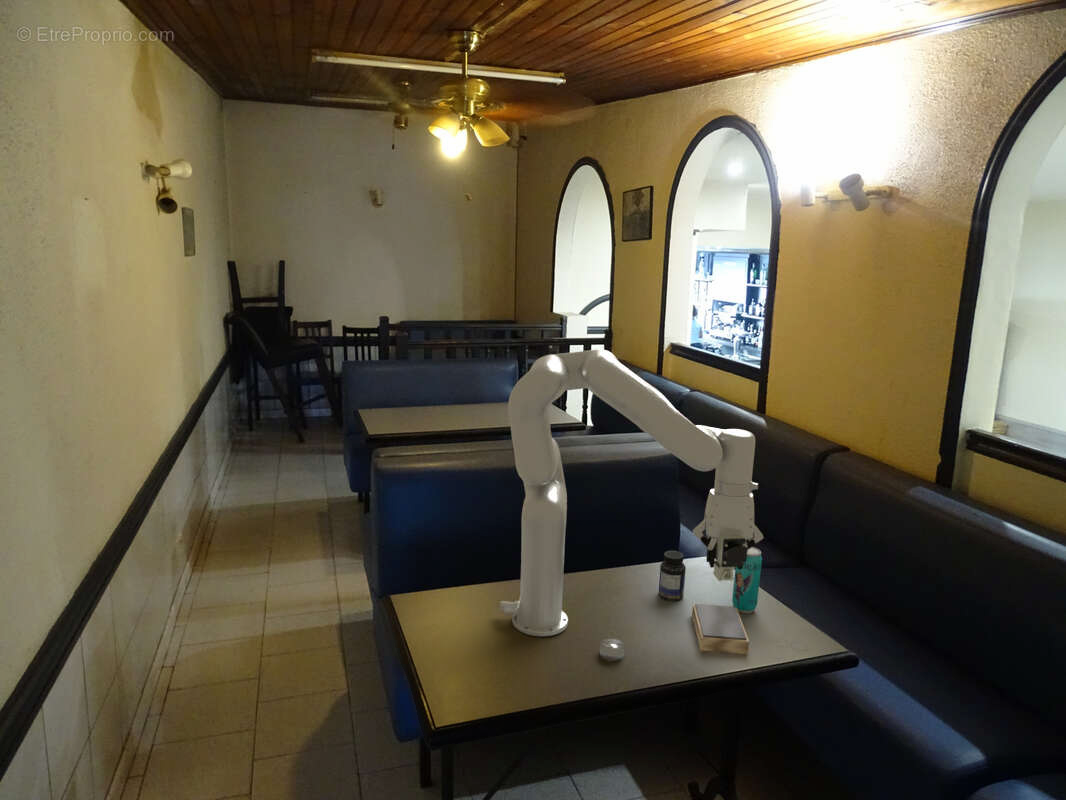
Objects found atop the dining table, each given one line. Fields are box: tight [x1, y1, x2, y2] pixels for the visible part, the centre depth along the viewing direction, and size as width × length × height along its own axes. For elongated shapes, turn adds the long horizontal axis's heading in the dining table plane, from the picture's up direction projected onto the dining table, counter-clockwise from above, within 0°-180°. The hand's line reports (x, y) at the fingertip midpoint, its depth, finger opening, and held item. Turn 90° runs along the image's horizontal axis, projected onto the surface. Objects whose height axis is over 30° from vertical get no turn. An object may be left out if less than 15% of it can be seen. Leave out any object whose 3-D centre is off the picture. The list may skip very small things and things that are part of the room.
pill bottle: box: [658, 550, 686, 602], centre depth 180 cm, size 6×6×11 cm
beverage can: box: [731, 546, 763, 614], centre depth 174 cm, size 6×6×15 cm
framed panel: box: [691, 603, 750, 655], centre depth 164 cm, size 10×15×3 cm, turn 175°
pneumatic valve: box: [706, 534, 748, 582], centre depth 160 cm, size 6×12×12 cm, turn 8°
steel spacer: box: [599, 638, 625, 662], centre depth 154 cm, size 5×5×2 cm
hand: (725, 565), depth 161 cm, fingers closed on pneumatic valve, 5 cm apart
